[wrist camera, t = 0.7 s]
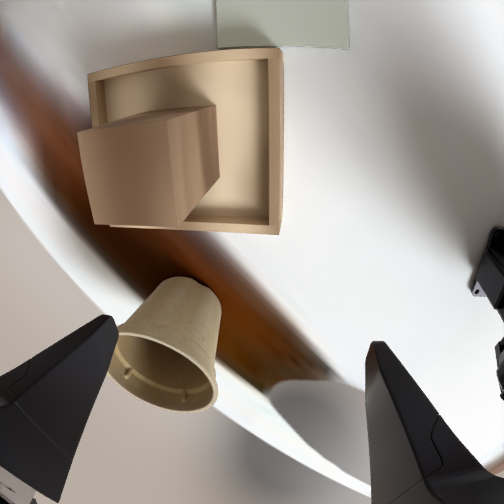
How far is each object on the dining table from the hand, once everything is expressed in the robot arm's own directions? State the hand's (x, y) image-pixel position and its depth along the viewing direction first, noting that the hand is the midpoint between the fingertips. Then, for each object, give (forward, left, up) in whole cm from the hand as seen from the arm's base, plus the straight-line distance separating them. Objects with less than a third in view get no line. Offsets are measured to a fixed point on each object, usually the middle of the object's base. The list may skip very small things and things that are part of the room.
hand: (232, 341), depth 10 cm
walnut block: (+5, -4, -11) cm, 13 cm away
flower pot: (+7, +10, -13) cm, 19 cm away
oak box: (+5, -4, -13) cm, 15 cm away
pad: (-1, -14, -13) cm, 19 cm away
